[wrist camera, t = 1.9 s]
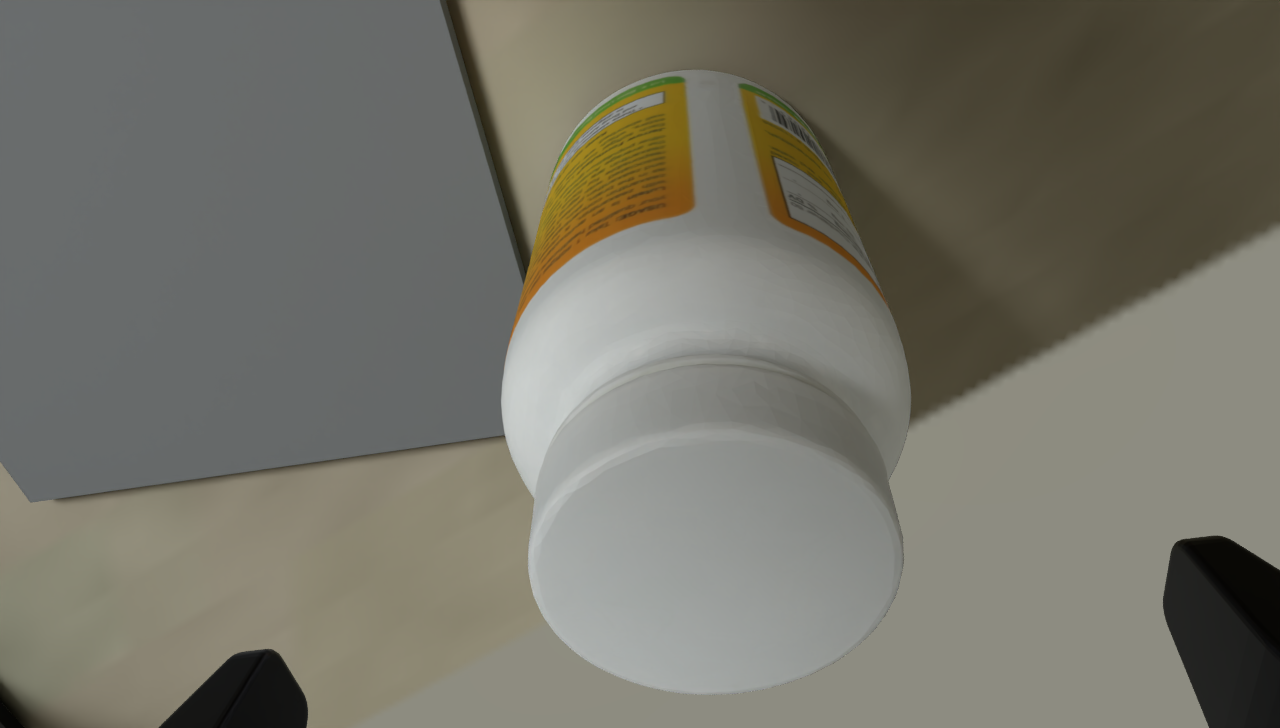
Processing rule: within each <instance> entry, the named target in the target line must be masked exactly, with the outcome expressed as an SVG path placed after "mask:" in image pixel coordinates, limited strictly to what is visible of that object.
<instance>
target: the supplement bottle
mask: <svg viewBox="0 0 1280 728" xmlns="http://www.w3.org/2000/svg"><path fill="white" fill-rule="evenodd" d="M501 408H502V419H503V426H504V433H505V437H506V441H507V444H508V447H509V450H510V453H511V456H512V459H513V461H514V463H515V465H516V468H517V470H518V472H519V474H520V476H521V478H522V480H523V482H524V483H525V485H526V487H527V488H528V489H529V491H530V493H531V494H532V496H533V497H534V499H535V500H534V509H533V517H532V525H531V533H530V540H529V550H528V571H529V576H530V582H531V586H532V591H533V595H534V598H535V600H536V602H537V605H538V607H539V609H540V611H541V613H542V615H543V617H544V618H545V620H546V621H547V622H548V624H549V625H550V627H551V628H552V629H553V631H554V632H555V633H556V634H557V636H558V637H559V638H560V639H561V640H562V641H563V642H564V643H565V644H566V645H568V646H569V647H570V648H571V649H572V650H573V651H575V652H576V653H577V654H578V655H580V656H581V657H582V658H584V659H586V660H587V661H588V662H590V663H592V664H593V665H595V666H596V667H598V668H600V669H602V670H605V671H607V672H609V673H611V674H613V675H615V676H617V677H620V678H623V679H625V680H628V681H631V682H633V683H636V684H639V685H643V686H646V687H651V688H655V689H659V690H664V691H669V692H676V693H683V694H701V695H711V694H712V695H717V694H738V693H745V692H751V691H758V690H763V689H767V688H771V687H775V686H779V685H782V684H786V683H790V682H792V681H795V680H798V679H800V678H803V677H806V676H808V675H811V674H813V673H815V672H817V671H819V670H821V669H823V668H825V667H827V666H829V665H831V664H833V663H835V662H836V661H838V660H839V659H841V658H842V657H844V656H845V655H847V654H848V653H849V652H851V651H852V650H853V649H854V648H856V647H857V646H858V645H859V644H860V643H862V641H864V640H865V639H866V638H867V637H868V636H869V635H870V634H871V633H872V632H873V631H874V630H875V629H876V628H877V626H878V625H879V623H880V622H881V620H882V619H883V618H884V617H885V615H886V613H887V612H888V610H889V608H890V606H891V604H892V602H893V600H894V599H895V596H896V593H897V590H898V587H899V583H900V578H901V574H902V569H903V563H904V557H903V556H904V554H903V536H902V532H901V529H900V525H899V520H898V516H897V513H896V509H895V505H894V501H893V498H892V494H891V490H890V487H889V482H888V480H889V479H890V477H891V475H892V473H893V471H894V469H895V467H896V465H897V463H898V460H899V458H900V455H901V452H902V450H903V446H904V443H905V440H906V437H907V432H908V427H909V421H910V412H911V387H910V380H909V372H908V366H907V362H906V358H905V353H904V349H903V345H902V342H901V340H900V336H899V333H898V329H897V326H896V324H895V321H894V318H893V316H892V314H891V311H890V309H889V306H888V304H887V301H886V299H885V297H884V295H883V292H882V290H881V287H880V285H879V282H878V280H877V278H876V275H875V273H874V270H873V268H872V266H871V263H870V261H869V258H868V256H867V254H866V251H865V249H864V246H863V244H862V242H861V239H860V237H859V234H858V232H857V229H856V227H855V225H854V222H853V220H852V217H851V215H850V212H849V210H848V208H847V205H846V203H845V200H844V198H843V196H842V193H841V190H840V187H839V185H838V183H837V181H836V178H835V176H834V174H833V171H832V169H831V166H830V164H829V162H828V160H827V157H826V155H825V153H824V151H823V149H822V147H821V146H820V144H819V142H818V140H817V139H816V137H815V135H814V134H813V132H812V130H811V129H810V128H809V126H808V125H807V124H806V122H805V121H804V120H803V119H802V118H801V116H800V115H799V114H798V113H797V112H796V111H795V110H794V109H793V108H792V107H791V106H790V105H789V104H787V103H786V102H785V101H784V100H782V99H781V98H780V97H778V96H777V95H776V94H774V93H773V92H771V91H769V90H767V89H766V88H764V87H762V86H761V85H758V84H756V83H754V82H752V81H749V80H747V79H745V78H742V77H739V76H735V75H732V74H727V73H722V72H717V71H709V70H680V71H673V72H667V73H662V74H658V75H654V76H650V77H648V78H645V79H642V80H639V81H637V82H635V83H632V84H630V85H628V86H626V87H624V88H622V89H620V90H618V91H616V92H615V93H613V94H612V95H610V96H609V97H607V98H606V99H604V100H603V101H602V102H600V103H599V104H598V105H597V106H596V107H594V108H593V109H592V110H591V111H590V112H589V113H588V114H587V115H586V116H585V117H584V118H583V119H582V121H581V122H580V123H579V124H578V125H577V126H576V128H575V129H574V131H573V132H572V134H571V135H570V137H569V138H568V140H567V141H566V143H565V145H564V147H563V149H562V151H561V154H560V156H559V158H558V160H557V163H556V166H555V168H554V171H553V174H552V177H551V180H550V184H549V188H548V191H547V195H546V200H545V204H544V208H543V212H542V216H541V220H540V224H539V227H538V232H537V236H536V240H535V244H534V247H533V251H532V255H531V260H530V264H529V267H528V271H527V275H526V279H525V282H524V286H523V290H522V294H521V298H520V302H519V306H518V310H517V313H516V317H515V321H514V325H513V328H512V331H511V336H510V341H509V345H508V350H507V354H506V359H505V365H504V375H503V381H502V394H501Z"/></svg>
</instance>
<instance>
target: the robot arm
mask: <svg viewBox="0 0 1280 728" xmlns="http://www.w3.org/2000/svg"><path fill="white" fill-rule="evenodd" d="M1163 609H1164V614H1165V618H1166V622H1167V625H1168V627H1169V630H1170V632H1171V635H1172V637H1173V640H1174V642H1175V645H1176V647H1177V650H1178V652H1179V655H1180V657H1181V659H1182V662H1183V664H1184V667H1185V669H1186V672H1187V674H1188V677H1189V679H1190V682H1191V684H1192V686H1193V689H1194V691H1195V694H1196V696H1197V699H1198V701H1199V704H1200V706H1201V709H1202V711H1203V713H1204V716H1205V718H1206V721H1207V723H1208V726H1209V728H1280V570H1279V569H1277V568H1275V567H1274V566H1272V565H1271V564H1269V563H1267V562H1266V561H1264V560H1263V559H1261V558H1259V557H1258V556H1256V555H1255V554H1253V553H1251V552H1250V551H1248V550H1247V549H1245V548H1244V547H1242V546H1240V545H1239V544H1237V543H1235V542H1234V541H1232V540H1230V539H1228V538H1225V537H1223V536H1207V537H1199V538H1191V539H1183V540H1180V541H1177V542H1176V543H1175V545H1174V546H1173V548H1172V551H1171V556H1170V561H1169V567H1168V573H1167V579H1166V584H1165V591H1164V596H1163ZM307 720H308V707H307V701H306V698H305V695H304V693H303V692H302V690H301V688H300V687H299V685H298V683H297V682H296V680H295V678H294V677H293V675H292V673H291V672H290V670H289V669H288V667H287V665H286V664H285V662H284V660H283V659H282V657H281V656H280V654H279V653H277V652H276V651H274V650H272V649H263V650H255V651H246V652H240V653H237V654H235V655H233V656H232V657H230V658H229V659H228V660H227V661H226V662H225V663H224V664H223V665H222V666H221V667H220V668H219V669H218V670H217V671H216V672H215V673H214V674H213V675H212V676H210V677H209V678H208V679H207V680H206V681H205V682H204V683H203V684H202V685H201V686H200V687H199V688H198V689H197V690H196V691H195V692H194V693H193V694H192V695H191V696H190V697H189V698H188V699H187V700H186V701H185V702H184V703H183V704H182V705H181V706H180V707H179V708H178V709H177V710H176V711H175V712H174V713H173V714H172V715H171V716H170V717H169V718H168V719H167V720H166V721H165V722H164V723H163V724H162V725H161V726H160V727H159V728H306V727H307ZM0 728H24V727H23V726H22V724H21V723H20V722H19V721H18V720H17V719H16V718H15V717H14V716H13V714H12V713H11V712H10V711H9V710H8V709H7V708H6V707H5V706H4V704H3V703H2V702H1V701H0Z"/></svg>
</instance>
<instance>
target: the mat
mask: <svg viewBox="0 0 1280 728" xmlns="http://www.w3.org/2000/svg"><path fill="white" fill-rule="evenodd" d="M525 279H526V274H525V271H524V267H523V264H522V260H521V257H520V253H519V250H518V247H517V243H516V240H515V236H514V233H513V229H512V226H511V223H510V219H509V216H508V212H507V209H506V205H505V202H504V199H503V195H502V192H501V188H500V185H499V181H498V178H497V175H496V171H495V168H494V164H493V161H492V157H491V154H490V151H489V147H488V144H487V140H486V137H485V133H484V130H483V127H482V123H481V120H480V116H479V113H478V109H477V106H476V103H475V99H474V96H473V92H472V89H471V85H470V82H469V79H468V75H467V72H466V68H465V65H464V61H463V58H462V55H461V51H460V48H459V44H458V41H457V37H456V34H455V31H454V27H453V24H452V20H451V17H450V13H449V10H448V7H447V3H446V0H0V462H1V463H2V464H3V466H4V467H5V469H6V470H7V471H8V473H9V474H10V475H11V477H12V478H13V479H14V481H15V482H16V483H17V485H18V486H19V488H20V489H21V490H22V492H23V493H24V494H25V496H26V497H27V498H28V500H29V501H30V503H31V502H38V501H45V500H52V499H59V498H66V497H73V496H80V495H87V494H94V493H101V492H108V491H115V490H122V489H129V488H136V487H143V486H150V485H157V484H164V483H171V482H178V481H185V480H192V479H200V478H207V477H214V476H221V475H228V474H235V473H242V472H249V471H256V470H263V469H270V468H277V467H284V466H291V465H298V464H305V463H312V462H319V461H326V460H333V459H340V458H347V457H354V456H361V455H368V454H375V453H382V452H389V451H397V450H404V449H411V448H418V447H425V446H432V445H439V444H446V443H453V442H460V441H467V440H474V439H481V438H488V437H495V436H502V435H505V433H504V426H503V419H502V408H501V394H502V381H503V375H504V365H505V359H506V354H507V350H508V345H509V341H510V336H511V331H512V328H513V325H514V321H515V317H516V313H517V310H518V306H519V302H520V298H521V294H522V290H523V286H524V282H525Z"/></svg>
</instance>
